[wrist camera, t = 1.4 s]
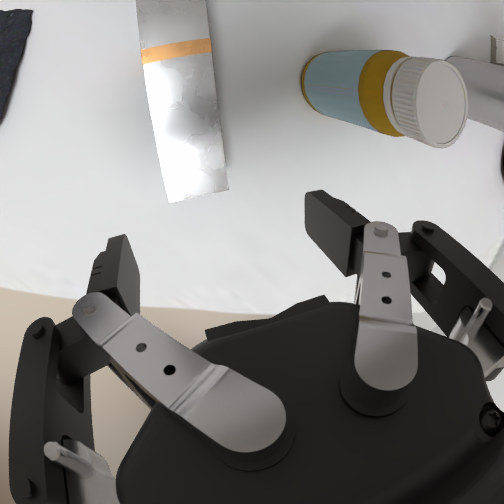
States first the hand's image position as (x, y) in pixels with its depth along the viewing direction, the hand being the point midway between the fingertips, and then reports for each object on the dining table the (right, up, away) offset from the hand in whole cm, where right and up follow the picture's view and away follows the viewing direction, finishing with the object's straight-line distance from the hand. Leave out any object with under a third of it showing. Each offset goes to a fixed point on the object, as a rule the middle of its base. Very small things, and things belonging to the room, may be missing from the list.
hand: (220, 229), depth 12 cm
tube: (-5, +14, +9) cm, 18 cm away
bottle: (+9, +16, +13) cm, 23 cm away
